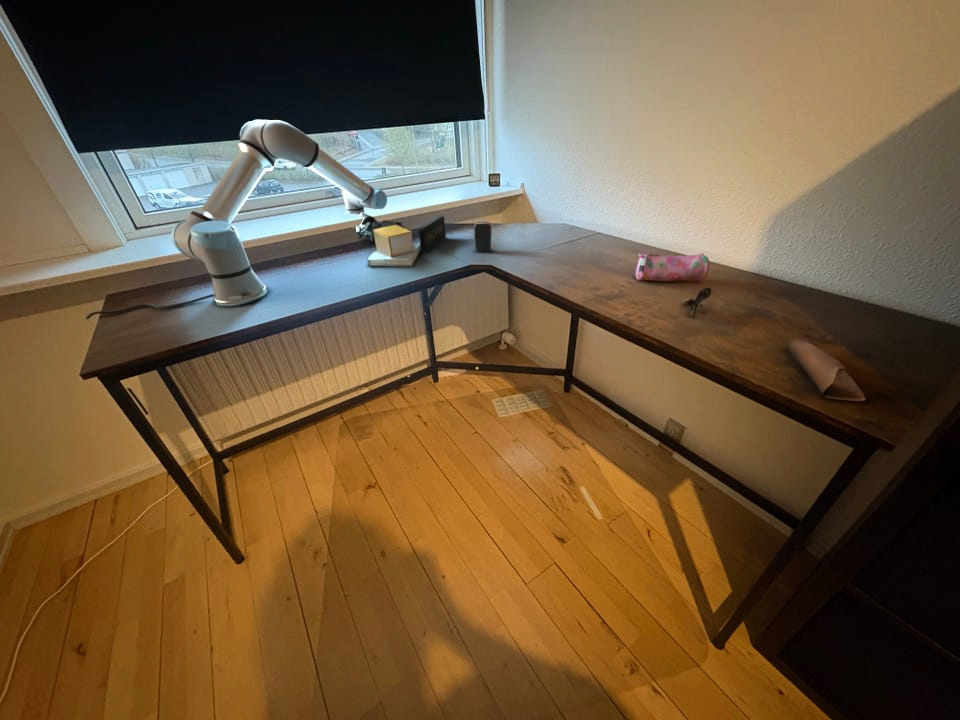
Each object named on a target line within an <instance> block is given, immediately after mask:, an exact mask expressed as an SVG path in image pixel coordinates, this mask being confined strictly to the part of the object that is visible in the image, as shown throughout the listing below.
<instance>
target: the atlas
mask: <svg viewBox="0 0 960 720" xmlns="http://www.w3.org/2000/svg"><path fill="white" fill-rule="evenodd" d="M413 248H414V252H410V253H407V254H403V255H399V256H395V257H392V258H391V257H390V256H388V255H386V254H384V253H382V252H380V251H379V250H377V248H375V250H374V251H373V252H372V253H371V254H370V256H368V258H367V259H366V260H367V266H368V267H392V266H393V267H403V266H405V267H406V266H407V267H409V266H410V267H412V266H413V264H414V262H415V261H416V259H417V257H418V255H419V253H420V252H421V245H420V241H419V242H413Z"/></svg>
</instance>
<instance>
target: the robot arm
mask: <svg viewBox="0 0 960 720" xmlns="http://www.w3.org/2000/svg"><path fill="white" fill-rule="evenodd" d="M239 139H240V140H239V142H238V143H237V149H238V153H237V155H236V157H235V158H234V160H233V161H232V162H231V163H230V165H229V167H228V168H227V170H226V171H225V173H223V176H222V177H221V179H220V180H219V182H218V183H217V184H216V186H215V188H214V189H213V191H212V192H211V193H210V195H209V196H208V198H207V199H206V201H204V204H203V205H202V206H201V208H200V209H192V211H191V212H190V213H189V215H188V217H187V218H186V219H185V220H181V221H179V222H177V223H176V224H174V226H173V228H172V229H171V235H170V236H171V241H172V244H173V246H174V247H175V249H176V250H177V251H179V252H180V254H182V255H184V256H185V257H187V258H189V259H192V260H196V261H199V262H203V263H204V265H205V267H206V269H207V272H208V274H209V275H210V277H211V281H212V292H213V293H212V294H208V295H205V296H202V297H198V298H195V299H191V300H188V301H185V302H180V303H176V304H170V305H157V304H154V303H149V302H148V303H140V304H135V305H132V306H127V307H123V308H121V309H115V310H98V311H92V312H90V313H88V314H87V315H86V316H85V320H89V319H91V318H92V317H93V316H95V315H102V314H105V315H107V314H118V313H123V312H126V311H131V310H134V309H138V308H141V307H153V308H155V309H159V310H160V309H162V310H164V309H172V308H173V309H174V308H177V307H182V306H186V305H190V304H193V303H196V302H199V301H203V300H207V299H210V298H213V299H214V301H215V304H216V305H218V306H220V307H238V306H243V305H247V304H251V303H253V302H256V301H258V300H260V299H262V298H263V297H264V296H265V295H266V294H267V293H268V290H267V288H266V285H265V284H264V283H263V282H262V280H261V279H260V278H259V276H257V274H256V272H254V271H253V268H252V266H251V263H250V261H249V258H248V256H247V255H248V254H247V253H246V250H245V248H244V245H243V242H242V240H241V236H240V234H239V233H238V231H237V229H236V227H235V225H233V223H232V222H233V221H234V219H235V218H236V217H237V215H238V213H239V212H240V210H241V209H242V207H243V206H244V204H245V202H246V201H247V199H248V198H249V196H250V195H251V193H252V192H253V190H254V189H255V187H256V186H257V184H258V183H259V181H260V179H261V178H262V177H263V175H264V174H265V173H266V172H271V171H272V170H274V168H275V167H276V165H277V163H278V162H279V161H287V162H292V163H295V164H297V165H299V166H300V167H302V168H304V169H311V170H312V171H313V172H315V173H316V174H318V175H319V176H321V177H323V178H324V179H325V180H327V181H329V182H330V183H332V184H333V185H335V186H336V187H338V188H340V189H341V191H342V196H343V200H344V204H345V209H346V212H347V214H355V215H358V216H360V217H362V218H363V220H362V222H361V224H360V225H359V226H356V227H355V228H354V229H356V237H357V239H361V238H362V240H366V239H368V240H370V241H371V242H375V238H374V232H373V230H374V229H378V228H383V227H387V226H392V225H397V226H400V227H402V228H404V229H405V226H403V224H402V222H401V221H393V220H385V219H383V220H382V221H378V220H377V219H376V218H375V217H374V216H372V215H369V214H367V213H365V208H368V209H374V210H383V209H385V207H386V206H387V203H388V196H387V194H386V193H385V191H383V190H381V189H376V188H374V187H373V186H371V185H370V184H368V183H367V182H366V181H364V180H363V179H362V178H360V177H359V176H357V175H356V174H355V173H354V172H352V171H350V170H349V169H348V168H346V167H345V166H344V165H342V163H340V162H339V161H338V160H336V159H335V158H333V157H332V156H330V154H328V153H326V151H324V150H323V149H321V147H320V145H319V143H318V142H316V141H315V140H314V139H312V137H310V136H308V135H307V134H306V133H304V132H303V131H301V130H300V129H298V128H297V127H295V126H293V125H292V124H290V123H288V122H286V121H283V120H278V119H273V120H270V119H269V120H268V119H254V120H251V121H248V122H246V123H244V124H243V126H242V127H241V128H240V131H239ZM363 212H364V213H365V214H364V213H363ZM375 219H376V220H375ZM363 222H364V223H363ZM126 389H127V391H128V392H129V393H130V396H132V397H133V399H134V400H135V402H136V403H137V404H138V405H139V407H140V408H141V410H142V411H143V413H144V414H145V415H146V416H148V415H149V414H150V412H148V410H147V409H146V407H145V405H143V403H142V402H141V401H140V399H139V398H138V396H137V395H136V393H135V392H134V391H133V390H132V389H131V388H130V387H127V388H126Z"/></svg>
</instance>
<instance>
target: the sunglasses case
mask: <svg viewBox="0 0 960 720" xmlns="http://www.w3.org/2000/svg"><path fill="white" fill-rule="evenodd" d="M785 349H786V351H787V352H788V353H789V354H790V355H791V356H792V357H793V358H794V359H795V360H796V361H797V362H798V364H799V365H800V366H801V368H802V369H803V371H805V373H806V374H807V375H808V377H809V378H810V379H811V380H812V382H813V383H814V384H815V386H816V388H818V390H819V391H820V393H822V394H823V396H824V398H825V399H830V400H834V401H835V400H836V401H842V402H843V401H844V402H865V401H867V399H866V397H865V395H864V393H863V391H862V390H861V389H860V387H859V386H858V384H857V383H856V382H855V381H854V379H853V378H852V377H851V376H850V375H849V374H848V372H847V371H846V368H845V367H844V366H843V364H842V363H841V362H840V361H839V360H837V359H836V358H835V357H833V356H832V355H831V354H829V353H828V352H826V351H825V350H823V349H821V348H819V347H817V346H816V345H814V344H812V343H810V342H807V341H805V340H803V339H800V338H795V339H792V340H790V341H788V343H787V344H786V345H785Z"/></svg>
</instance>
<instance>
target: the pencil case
mask: <svg viewBox="0 0 960 720" xmlns="http://www.w3.org/2000/svg"><path fill="white" fill-rule="evenodd" d="M637 256H638V262H637V265H636V268H635V279H636V280H638V281H654V282H678V281H687V282H691V281H694V282H703V281H704V280H705V279H706V278H707V276H708V274H709V271H710V260H709V257H708V256H707V255H705V254H704V253H697V254H689V255H669V254H668V255H667V254H658V253H652V252H648V253H646V252H645V253H638V254H637Z"/></svg>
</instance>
